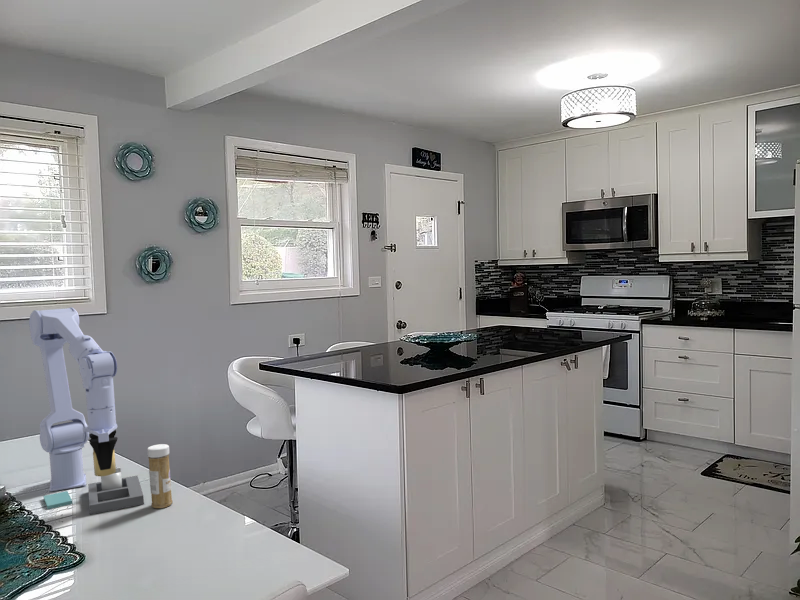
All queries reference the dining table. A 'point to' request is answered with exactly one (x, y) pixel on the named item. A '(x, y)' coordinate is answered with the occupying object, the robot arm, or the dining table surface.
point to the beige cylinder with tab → (107, 471)
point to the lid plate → (57, 500)
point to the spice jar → (159, 475)
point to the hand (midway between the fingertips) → (105, 466)
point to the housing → (115, 496)
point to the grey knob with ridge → (112, 480)
